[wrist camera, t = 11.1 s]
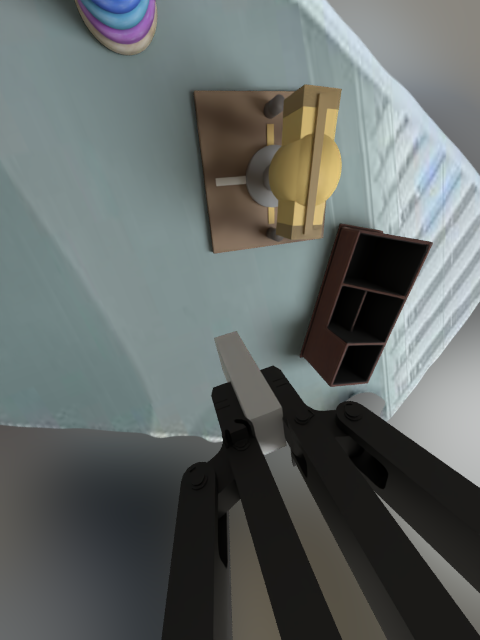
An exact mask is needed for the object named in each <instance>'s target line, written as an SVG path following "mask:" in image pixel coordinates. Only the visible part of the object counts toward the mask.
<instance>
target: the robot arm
mask: <svg viewBox="0 0 480 640" xmlns="http://www.w3.org/2000/svg"><path fill="white" fill-rule="evenodd" d="M214 340H215V343H216V347H217V351H218V354H219V358H220V362H221V365H222V369H223V372H224V374H225V377H226V380H227V382H228V383H225V384H222V385H219V386H216V387H214V388H213V390H212V395H211V397H212V400H213V403H214V407H215V410H216V414H217V417H218V421H219V424H220V428H221V431H222V438H223V444H222V447H221V449H220V451H219V452H218V454H216V455H215V456H214V457H213V458H212V459H211V460H210V461H208V462H207V463H206V462H198V463H195V464H193V465H192V466H190V467H189V468H188V469H187V470H186V472H185V473H184V475H183V478H182V481H181V487H180V495H179V504H178V512H177V519H176V527H175V535H174V543H173V552H172V559H171V567H170V575H169V584H168V592H167V599H166V608H165V616H164V624H163V632H162V640H232V609H231V573H230V539H229V509H230V508H231V507H232V506H233V505H234V504H235V503H237V502H238V501H239V500H240V499H241V502H242V505H243V508H244V512H245V515H246V519H247V522H248V526H249V529H250V533H251V536H252V539H253V543H254V547H255V550H256V554H257V557H258V560H259V564H260V567H261V571H262V574H263V578H264V581H265V585H266V588H267V592H268V595H269V598H270V602H271V605H272V609H273V612H274V616H275V619H276V623H277V626H278V630H279V633H280V636H281V640H342V638H341V636H340V634H339V632H338V629H337V627H336V624H335V622H334V620H333V617H332V615H331V612H330V610H329V608H328V605H327V603H326V601H325V599H324V596H323V594H322V591H321V589H320V587H319V584H318V582H317V579H316V577H315V575H314V572H313V570H312V568H311V566H310V563H309V561H308V558H307V556H306V554H305V551H304V549H303V547H302V544H301V542H300V539H299V537H298V535H297V532H296V530H295V528H294V525H293V523H292V521H291V518H290V516H289V513H288V511H287V509H286V507H285V504H284V502H283V499H282V497H281V495H280V492H279V490H278V487H277V485H276V483H275V481H274V478H273V476H272V474H271V471H270V469H269V466H268V464H267V462H266V459H265V457H264V455H265V454H268V453H270V452H273V451H275V450H277V449H280V448H282V447H285V446H286V441H287V442H288V444H289V446H290V448H291V457H292V463H293V466H295V465H297V467H298V469H299V471H300V473H301V474H302V476H303V478H304V480H305V482H306V484H307V486H308V488H309V490H310V492H311V494H312V496H313V498H314V499H315V501H316V503H317V505H318V507H319V509H320V511H321V513H322V515H323V517H324V519H325V521H326V522H327V524H328V526H329V528H330V530H331V532H332V534H333V536H334V538H335V540H336V542H337V543H338V546H339V548H340V549H341V551H342V553H343V555H344V557H345V559H346V561H347V563H348V565H349V567H350V568H351V571H352V572H353V574H354V576H355V578H356V580H357V582H358V584H359V586H360V588H361V590H362V592H363V594H364V595H365V597H366V599H367V601H368V603H369V605H370V607H371V609H372V611H373V613H374V615H375V617H376V619H377V620H378V622H379V624H380V626H381V628H382V630H383V632H384V634H385V636H386V638H387V640H480V635H479V634H478V633H477V632H476V630H475V629H474V627H473V626H472V625H471V623H470V622H469V621H468V619H467V618H466V616H465V615H464V614H463V612H462V611H461V610H460V608H459V607H458V605H457V604H456V603H455V602H454V600H453V599H452V597H451V596H450V595H449V593H448V592H447V590H446V589H445V588H444V587H443V585H442V584H441V582H440V581H439V579H438V578H437V577H436V575H435V574H434V573H433V571H432V570H431V569H430V567H429V566H428V565H427V563H426V562H425V560H424V559H423V558H422V557H421V555H420V554H419V552H418V551H417V549H416V548H415V547H414V545H413V544H412V543H411V541H410V540H409V539H408V537H407V536H406V535H405V533H404V532H403V530H402V529H401V528H400V526H399V525H398V523H397V522H396V521H395V519H394V518H393V517H392V516H391V514H390V513H389V511H388V510H387V508H386V507H385V506H384V504H383V503H382V502H381V500H380V499H379V498H378V496H377V495H376V493H377V494H378V495H379V496H380V497H381V498H382V499H383V500H384V501H385V502H386V503H387V504H388V505H389V506H390V507H391V508H392V509H393V510H394V511H395V512H396V513H398V514H399V516H401V517H402V518H403V519H404V520H405V521H406V522H407V523H408V524H409V525H410V526H411V527H412V528H413V529H414V530H415V531H416V532H417V533H418V534H419V535H420V536H421V537H422V538H423V539H424V540H425V541H426V542H427V543H429V544H430V545H431V546H432V547H433V548H434V549H435V550H436V551H437V552H438V553H439V554H440V555H441V556H442V557H443V558H444V559H445V560H446V561H447V562H448V563H449V564H450V565H451V566H452V567H453V568H454V569H456V571H458V573H460V574H461V575H462V576H463V577H464V578H465V579H466V580H467V581H468V582H469V583H470V584H471V585H472V586H473V587H474V588H475V589H476V590H477V591H478V592H479V593H480V488H479V487H478V486H476V485H475V484H473V483H472V482H471V481H469V480H468V479H466V478H465V477H463V476H462V475H461V474H459V473H458V472H456V471H455V470H453V469H452V468H450V467H449V466H448V465H446V464H445V463H444V462H442V461H441V460H439V459H438V458H436V457H435V456H434V455H432V454H431V453H429V452H428V451H427V450H425V449H424V448H422V447H421V446H419V445H418V444H417V443H415V442H414V441H412V440H411V439H409V438H408V437H407V436H405V435H404V434H403V433H401V432H400V431H398V430H397V429H395V428H394V427H393V426H391V425H390V424H388V423H387V422H386V421H384V420H383V419H381V418H380V417H378V416H377V415H376V414H374V413H373V412H371V411H370V410H368V409H367V408H366V407H364V406H363V405H361V404H359V403H357V402H353V401H344V402H342V403H340V404H339V405H338V406H337V408H336V410H329V411H318V410H314V409H312V408H310V407H308V406H307V405H306V404H305V403H304V402H303V401H302V399H301V398H300V396H299V395H298V394H297V392H296V391H295V389H294V388H293V387H292V385H291V384H290V383H289V381H288V380H287V378H286V377H285V375H284V374H283V373H282V371H281V370H280V369H278V368H276V367H275V366H271V367H268V368H265V369H262V370H259V368H258V366H257V365H256V363H255V361H254V360H253V358H252V356H251V355H250V353H249V351H248V350H247V348H246V346H245V345H244V343H243V341H242V339H241V338H240V336H239V334H238V333H237V331H235V332H232V333H228V334H225V335H222V336H219V337H216V338H214ZM295 463H296V464H295ZM373 490H374V491H375V492H376V493H375V492H374V491H373Z"/></svg>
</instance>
